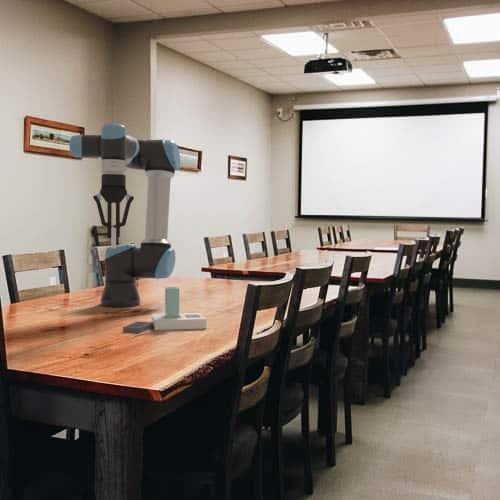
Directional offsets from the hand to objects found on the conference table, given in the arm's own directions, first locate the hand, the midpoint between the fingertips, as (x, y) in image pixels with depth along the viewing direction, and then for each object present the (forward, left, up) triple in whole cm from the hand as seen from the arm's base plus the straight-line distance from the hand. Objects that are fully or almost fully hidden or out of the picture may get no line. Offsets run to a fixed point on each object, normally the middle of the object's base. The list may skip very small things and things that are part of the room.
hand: (113, 248), depth 208 cm
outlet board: (+7, +20, -24) cm, 32 cm away
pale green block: (+7, +18, -24) cm, 31 cm away
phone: (+11, +7, -25) cm, 28 cm away
